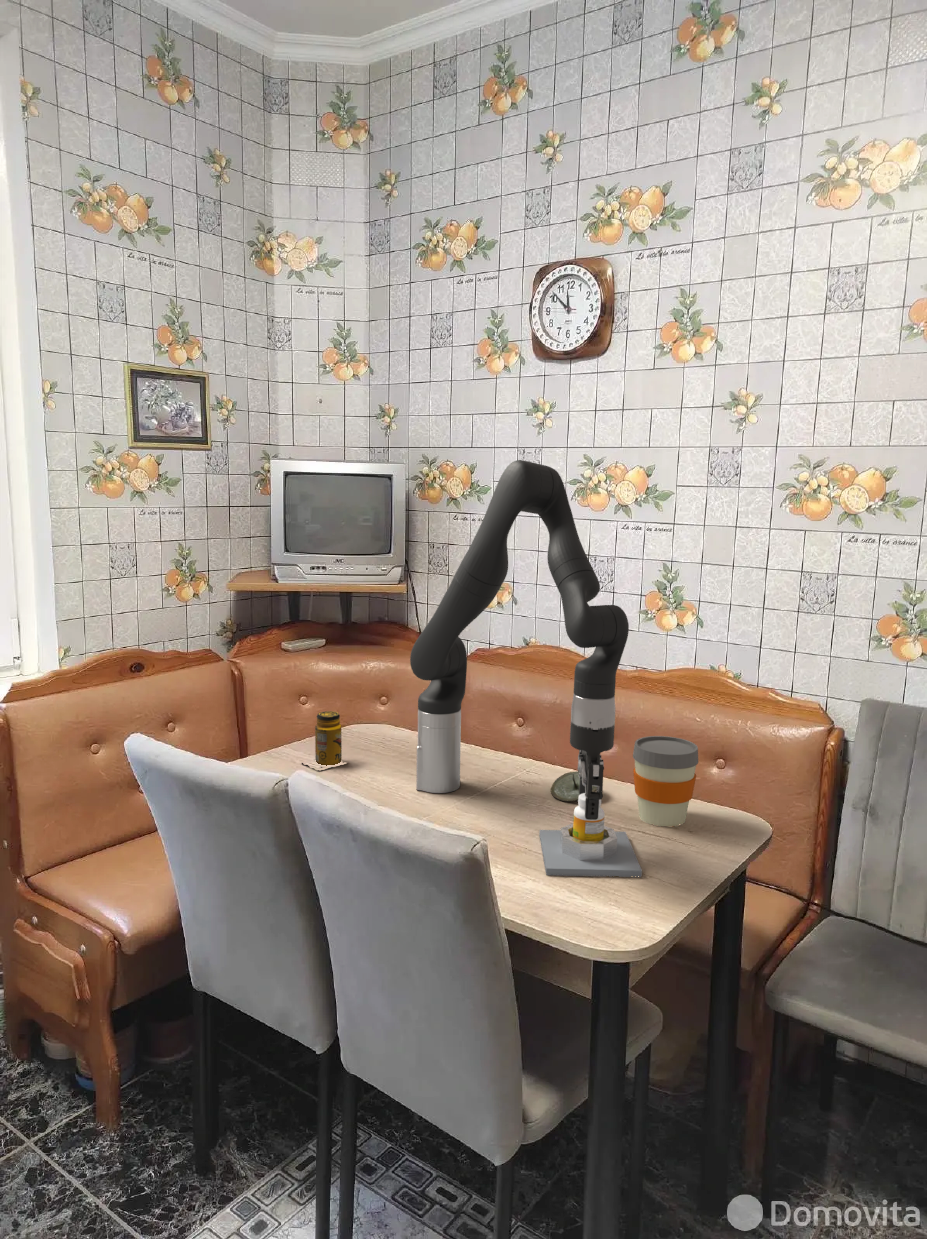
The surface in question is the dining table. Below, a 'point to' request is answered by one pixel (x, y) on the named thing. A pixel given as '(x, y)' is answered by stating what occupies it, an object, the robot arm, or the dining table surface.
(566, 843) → the steel collar
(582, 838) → the supplement bottle
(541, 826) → the dining table surface
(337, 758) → the condiment
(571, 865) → the hub plate
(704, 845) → the dining table surface
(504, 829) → the dining table surface
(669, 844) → the dining table surface
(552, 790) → the lid
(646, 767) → the reusable coffee cup
